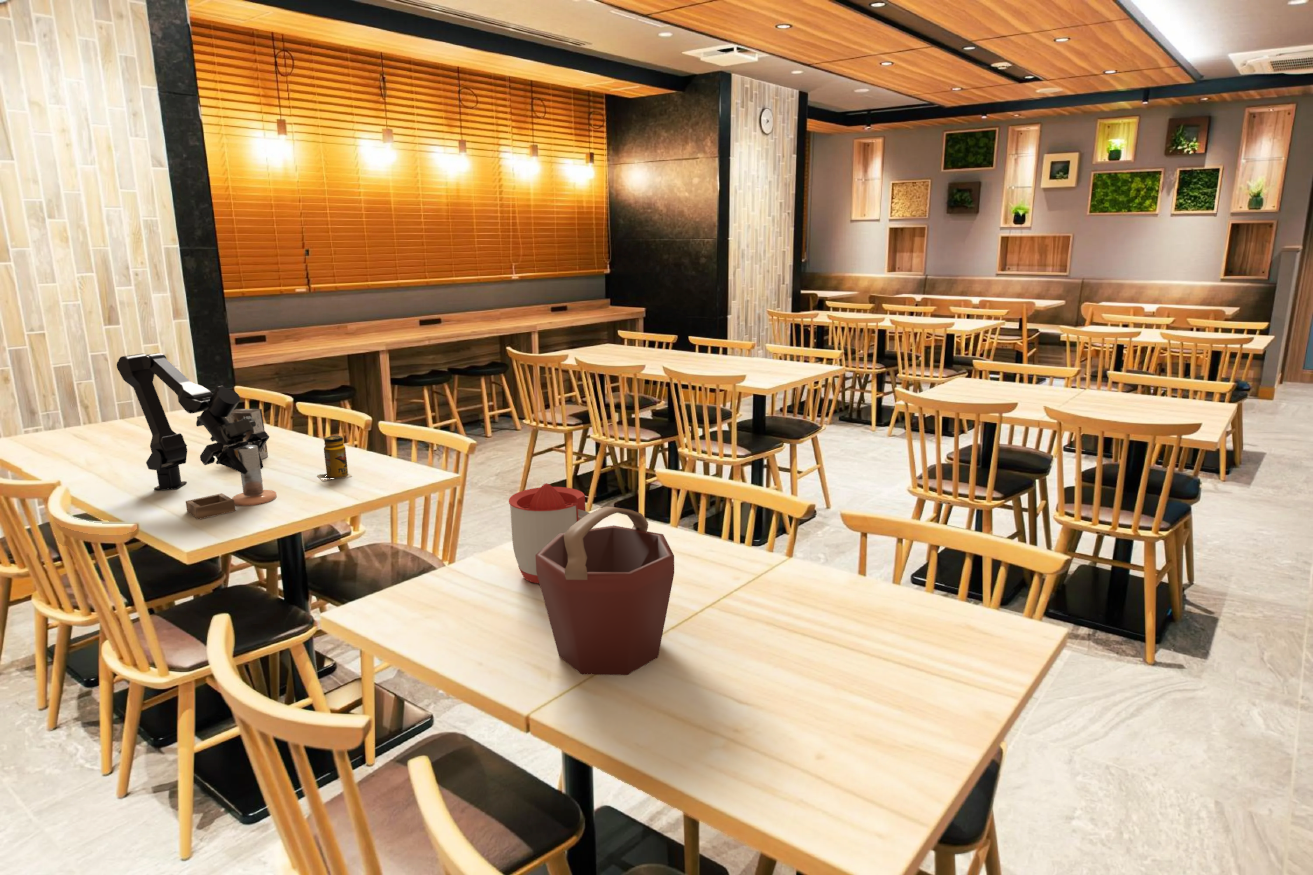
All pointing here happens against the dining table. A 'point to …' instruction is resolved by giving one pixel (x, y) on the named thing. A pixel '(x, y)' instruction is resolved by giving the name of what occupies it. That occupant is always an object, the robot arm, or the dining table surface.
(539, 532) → the citrus juicer
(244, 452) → the peg
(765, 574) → the dining table surface
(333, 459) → the condiment
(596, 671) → the bucket
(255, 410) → the coffee box
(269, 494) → the coaster
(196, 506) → the pocket block
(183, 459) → the robot arm
